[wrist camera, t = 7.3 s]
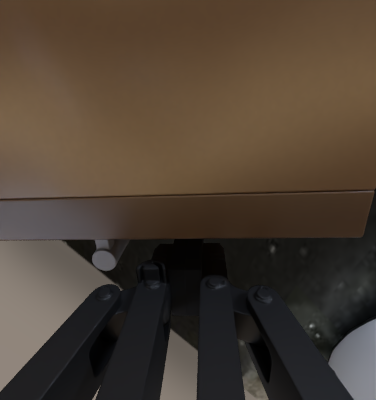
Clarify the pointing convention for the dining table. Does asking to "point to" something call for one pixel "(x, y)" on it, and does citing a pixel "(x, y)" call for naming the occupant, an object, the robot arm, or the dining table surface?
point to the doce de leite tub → (357, 360)
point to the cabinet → (186, 119)
